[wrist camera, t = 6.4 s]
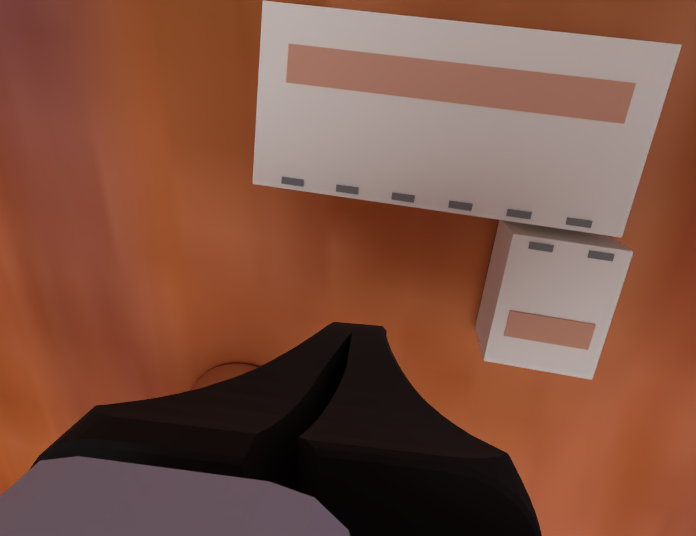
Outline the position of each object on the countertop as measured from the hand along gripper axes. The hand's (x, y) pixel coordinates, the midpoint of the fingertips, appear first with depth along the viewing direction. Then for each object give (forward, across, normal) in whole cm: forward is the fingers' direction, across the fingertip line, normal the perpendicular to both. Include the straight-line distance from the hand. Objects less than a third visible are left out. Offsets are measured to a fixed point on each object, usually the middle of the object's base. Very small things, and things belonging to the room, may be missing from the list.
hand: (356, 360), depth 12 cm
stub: (+9, -6, +1) cm, 11 cm away
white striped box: (+9, -2, -6) cm, 11 cm away
